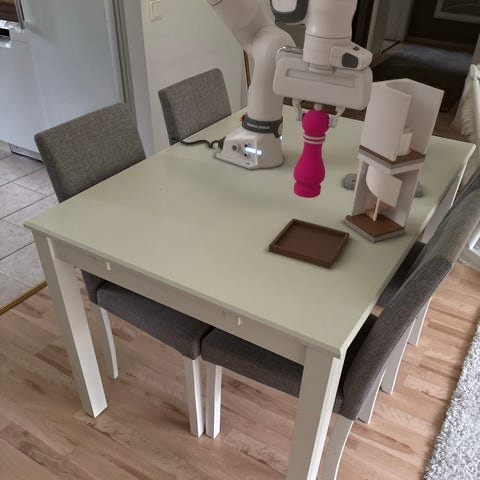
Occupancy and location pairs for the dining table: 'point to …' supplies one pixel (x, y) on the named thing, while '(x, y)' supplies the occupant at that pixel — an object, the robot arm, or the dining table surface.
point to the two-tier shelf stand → (392, 155)
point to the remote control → (351, 178)
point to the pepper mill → (311, 154)
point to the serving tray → (309, 243)
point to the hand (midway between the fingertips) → (316, 123)
